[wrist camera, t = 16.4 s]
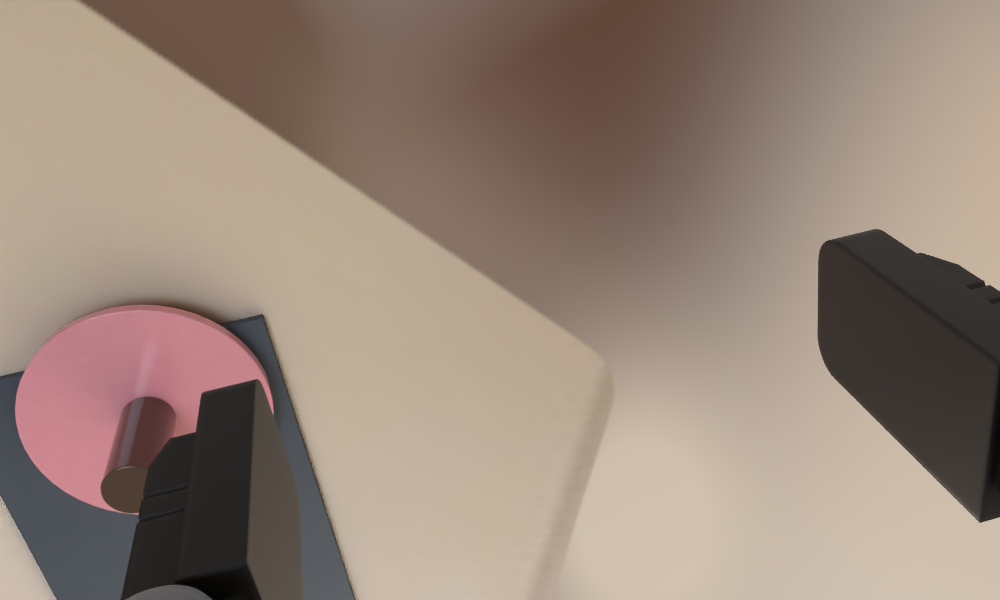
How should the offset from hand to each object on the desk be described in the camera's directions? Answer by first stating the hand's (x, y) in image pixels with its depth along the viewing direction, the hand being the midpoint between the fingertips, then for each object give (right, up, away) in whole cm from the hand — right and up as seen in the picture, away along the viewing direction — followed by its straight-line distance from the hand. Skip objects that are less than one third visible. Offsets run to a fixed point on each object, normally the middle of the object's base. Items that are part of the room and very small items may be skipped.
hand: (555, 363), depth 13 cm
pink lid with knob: (-17, -4, +29) cm, 34 cm away
